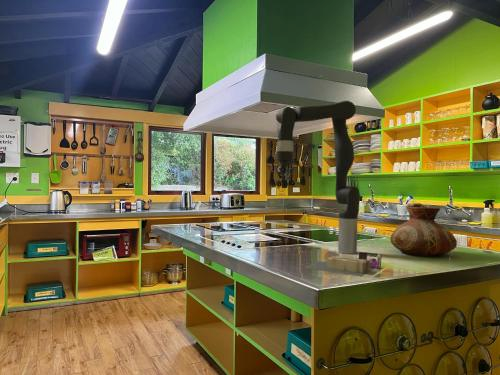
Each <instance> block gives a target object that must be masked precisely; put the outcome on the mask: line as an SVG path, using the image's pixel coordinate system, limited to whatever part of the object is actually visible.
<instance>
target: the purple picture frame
mask: <svg viewBox="0 0 500 375" xmlns="http://www.w3.org/2000/svg"><path fill="white" fill-rule="evenodd" d="M368 255H369V257H371V258H369V261H370V268H375V270H378V271H379V272H380V271H381V268H382V266H381V265H382V259H383V258H382V255H383V254H382V253H374V252H365V251H359V252H358V258H357V259H361V260H368ZM372 257H373V258H372Z"/></svg>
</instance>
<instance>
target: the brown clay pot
mask: <svg viewBox="0 0 500 375" xmlns="http://www.w3.org/2000/svg"><path fill="white" fill-rule="evenodd" d="M405 209H406V210H407V212H408V214H409V218H410V219H409V220H408V221H406V222H403V223H402V224H400V225H398V226H397V227H396V228H394V230H393V232H392V234H391V235H390V238H389V239H390V243H391V244H392V245H393V247H394V248H396V249H397V250H399V252H401V253H403V254H405V255H410V256H417V257H429V258H431V257H441V256H443V255H446V254H448V253H450V252H452V251H454V250H455V249H457V245H458V241H457V239H456V237H455V236H454V234H453V233H452V232H451V231H450V230H449V229H447V228H446V227H444V226H443V225H441V224H439V223H437V222H436V221H435V219H436V217H437V215H438V213H439V212H440V211H441V208H440V207H434V206H425V205H424V204H422V203H421V202H414V203H412V205H406V207H405Z"/></svg>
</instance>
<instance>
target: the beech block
mask: <svg viewBox="0 0 500 375" xmlns="http://www.w3.org/2000/svg"><path fill="white" fill-rule="evenodd" d="M326 259H327V260H326V262H327V268H329V269H336V270H343V271H350V272H356V273H363V274H365V273H367V272H368V273H370V272H371V271H370V268H371V267H370V259H369V260H368V259H367V260H361V259H358V258H354V257H343V256H336V255H332V256H330V257H327V258H326ZM369 271H370V272H369ZM368 273H367V274H368ZM365 275H366V274H365Z"/></svg>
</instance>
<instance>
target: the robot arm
mask: <svg viewBox="0 0 500 375" xmlns="http://www.w3.org/2000/svg"><path fill="white" fill-rule="evenodd" d="M356 111H357V109H356V106H355V104H354V103H353V102H352V101H350V100H342V101H338V102H336V103H333V104H326V105H312V106H311V105H309V106H308V105H307V106H298V107H295V108H292V107H291V106H286V107H284V108H280V110H278V111H277V113H276V114H275V119H276V121H277V123H279V124H280V128H279V129H278V131H277V143H276V144H277V145H276V161H277V162H278V167H275V171H276V173H277V176H278V179H280V180H281V189H288V181H289V180H290V179H291V177H292V175H293V172H294V168H291V166H292V165H291V162H294V129H295V124H296V123H300V122H301V123H303V122H315V121H319V120H324V119H331V122H332V129H333V138H334V139H333V141H334V159H335V160H334V161H335V201H336V202H337V203H338V204H339V205H346V208H345V209H344V210H341V211H339V213H338V234H337V235H338V236H337V237H338V239H337V240H338V242H337V247H338V248H337V250H338V253H341V254H347V255H348V254H349V255H351V254H353V255H354V254H357V253H358V216H359V212H360V202H361V199H360V198H361V196H360V194H361V193H360V189H359V188H358V187H357V186H352V185H351V186H350V185H347V177H348V174H349V172H350V170H351V168H352V165H354V164H353V163H354V161H355V153H354V152H355V149H354V144H353V142H352V140H351V137H350V135H349V134H348V129H347V120H350V119H352V118H353V117H354V116H355V114H356Z"/></svg>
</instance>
